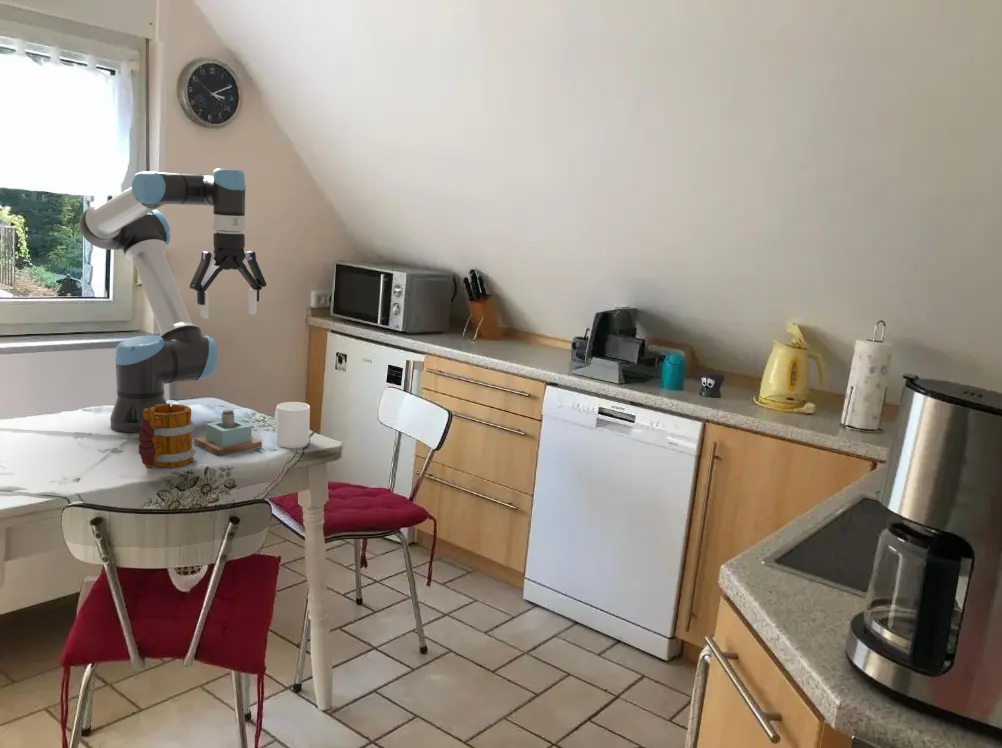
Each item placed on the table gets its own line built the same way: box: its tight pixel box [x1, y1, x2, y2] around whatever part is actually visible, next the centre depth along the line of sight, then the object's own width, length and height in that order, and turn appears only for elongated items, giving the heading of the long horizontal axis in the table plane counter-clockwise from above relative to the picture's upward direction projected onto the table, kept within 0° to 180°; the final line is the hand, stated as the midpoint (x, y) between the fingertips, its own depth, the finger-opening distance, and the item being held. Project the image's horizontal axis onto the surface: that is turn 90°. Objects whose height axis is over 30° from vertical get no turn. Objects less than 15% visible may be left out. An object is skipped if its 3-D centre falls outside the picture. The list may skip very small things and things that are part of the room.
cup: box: [273, 401, 311, 449], centre depth 222 cm, size 8×12×10 cm
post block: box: [193, 409, 263, 457], centre depth 216 cm, size 12×12×9 cm
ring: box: [205, 418, 252, 447], centre depth 216 cm, size 8×8×4 cm
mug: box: [138, 403, 197, 470], centre depth 199 cm, size 11×16×15 cm, turn 167°
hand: (229, 316), depth 219 cm, fingers open, 13 cm apart
